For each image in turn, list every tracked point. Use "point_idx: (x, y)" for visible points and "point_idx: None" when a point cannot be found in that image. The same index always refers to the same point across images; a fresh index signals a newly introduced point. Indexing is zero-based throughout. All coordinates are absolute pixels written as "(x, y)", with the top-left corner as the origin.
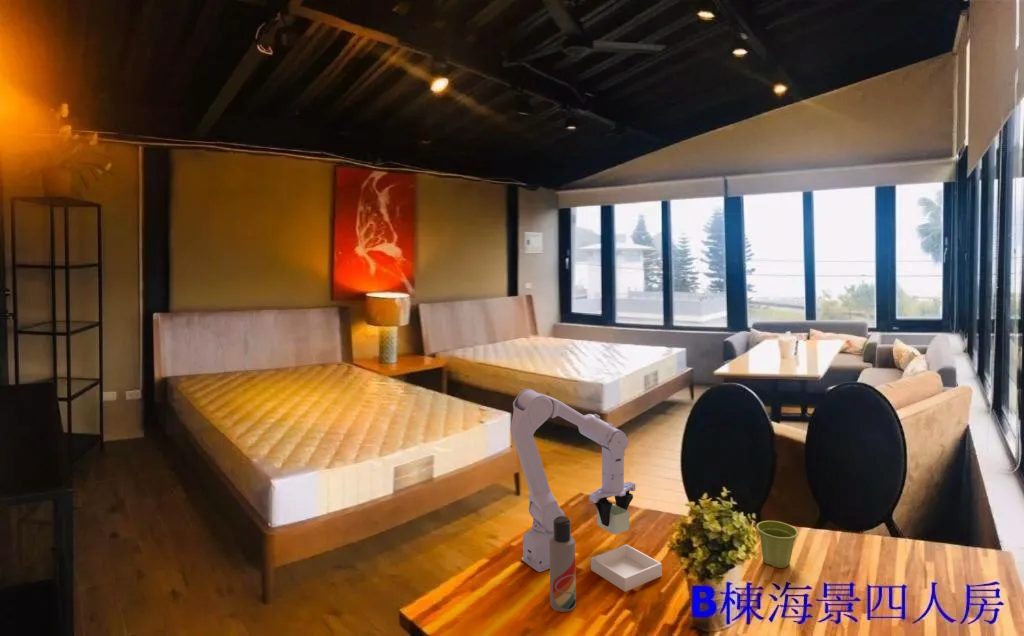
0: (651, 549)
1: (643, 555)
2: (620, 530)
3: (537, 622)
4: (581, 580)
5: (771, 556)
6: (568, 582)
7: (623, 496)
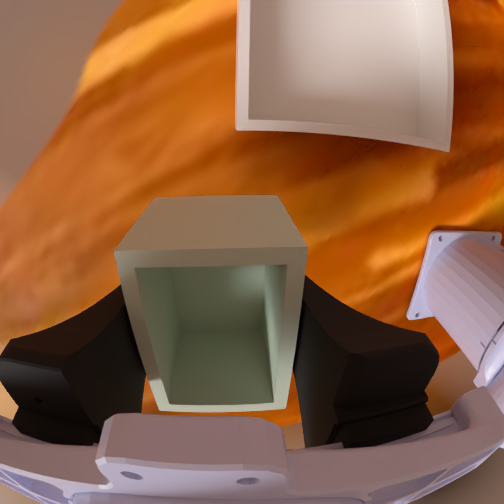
0: (102, 116)
1: (249, 3)
2: (230, 199)
3: None
4: (471, 124)
5: None
6: None
7: (93, 408)
